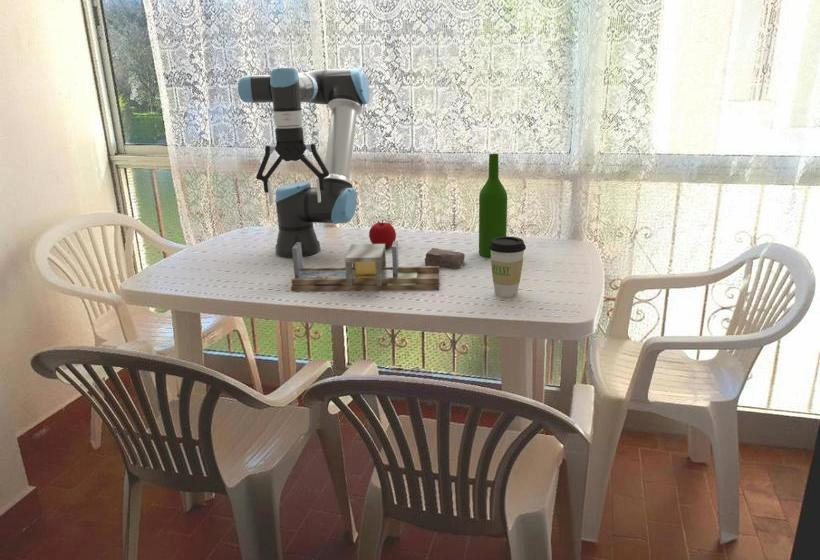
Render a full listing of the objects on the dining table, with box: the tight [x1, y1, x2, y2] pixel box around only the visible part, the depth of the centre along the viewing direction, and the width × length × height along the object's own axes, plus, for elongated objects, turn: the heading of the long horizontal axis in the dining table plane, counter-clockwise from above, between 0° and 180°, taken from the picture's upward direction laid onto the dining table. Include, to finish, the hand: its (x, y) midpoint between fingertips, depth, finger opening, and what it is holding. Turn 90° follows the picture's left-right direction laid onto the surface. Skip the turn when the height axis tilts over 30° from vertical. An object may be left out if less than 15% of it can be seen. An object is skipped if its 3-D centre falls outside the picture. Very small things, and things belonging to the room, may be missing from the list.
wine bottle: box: [478, 153, 508, 259], centre depth 201 cm, size 9×9×32 cm
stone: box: [424, 247, 466, 269], centre depth 198 cm, size 9×12×5 cm
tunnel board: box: [290, 243, 440, 292], centre depth 183 cm, size 42×14×10 cm, turn 87°
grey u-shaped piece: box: [292, 240, 400, 279], centre depth 182 cm, size 30×8×10 cm, turn 87°
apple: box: [368, 219, 397, 249], centre depth 217 cm, size 9×9×10 cm
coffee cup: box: [489, 235, 527, 298], centre depth 170 cm, size 10×10×15 cm
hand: (295, 202), depth 180 cm, fingers open, 13 cm apart
